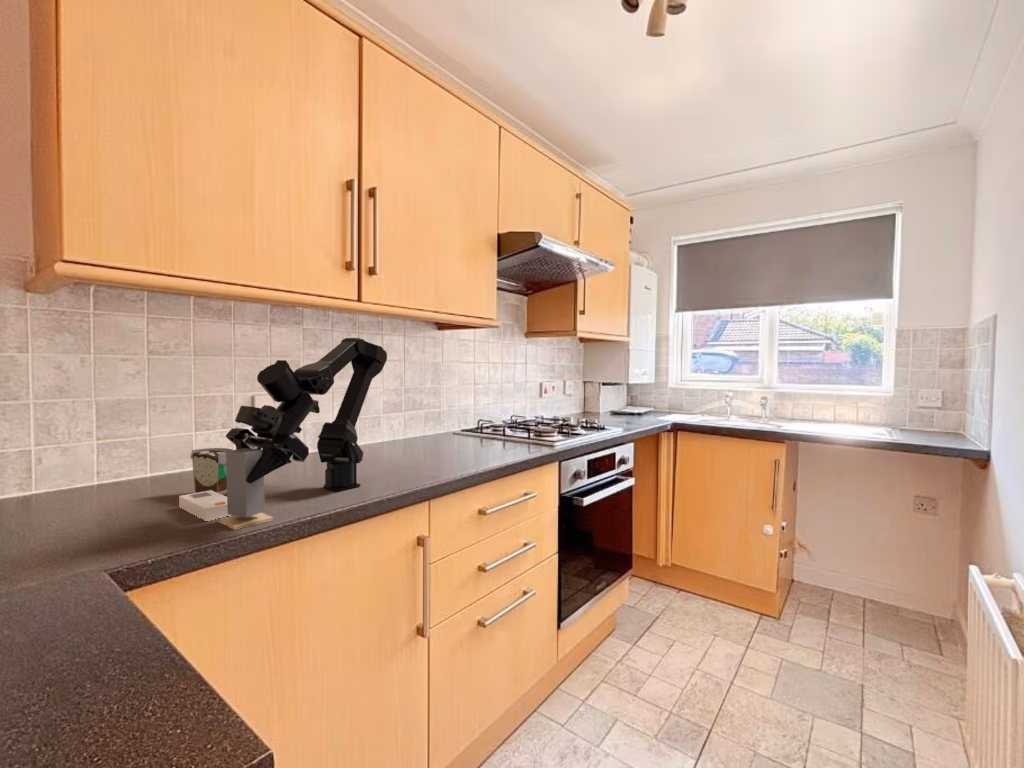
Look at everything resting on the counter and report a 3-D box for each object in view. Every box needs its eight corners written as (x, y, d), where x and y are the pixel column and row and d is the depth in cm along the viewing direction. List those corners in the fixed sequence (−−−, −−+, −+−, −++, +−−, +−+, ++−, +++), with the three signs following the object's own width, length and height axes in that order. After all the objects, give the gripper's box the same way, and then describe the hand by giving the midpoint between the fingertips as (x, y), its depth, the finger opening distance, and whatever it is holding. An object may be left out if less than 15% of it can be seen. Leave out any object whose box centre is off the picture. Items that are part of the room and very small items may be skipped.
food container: (248, 493, 113) (247, 450, 112) (220, 500, 107) (220, 455, 107) (218, 486, 119) (217, 445, 119) (191, 492, 114) (190, 449, 113)
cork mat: (256, 513, 98) (256, 510, 98) (273, 520, 94) (273, 517, 94) (218, 522, 93) (218, 518, 93) (234, 530, 89) (234, 526, 89)
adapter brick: (246, 508, 96) (244, 448, 96) (264, 511, 94) (263, 449, 94) (227, 514, 93) (225, 451, 92) (246, 517, 91) (244, 453, 90)
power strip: (202, 497, 109) (201, 485, 109) (239, 514, 98) (238, 500, 98) (170, 503, 105) (170, 490, 105) (206, 521, 93) (205, 507, 93)
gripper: (233, 388, 100) (177, 450, 91) (294, 392, 91) (239, 461, 82) (269, 422, 108) (221, 483, 98) (329, 428, 99) (281, 495, 90)
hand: (238, 480), depth 92 cm, fingers closed on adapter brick, 5 cm apart
